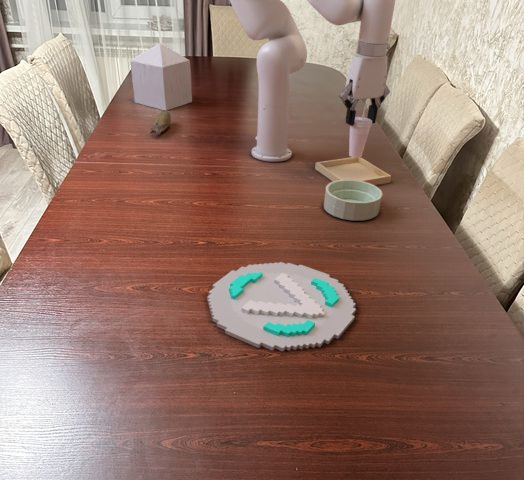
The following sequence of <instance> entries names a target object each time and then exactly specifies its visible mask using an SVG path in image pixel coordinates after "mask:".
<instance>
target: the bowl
mask: <svg viewBox="0 0 524 480" xmlns="http://www.w3.org/2000/svg"><path fill="white" fill-rule="evenodd" d="M383 195H384V194H383V191H382V189H380V188H379V187H378V185H373V184H370V183H367V182H363V181H358V180H338V181H331V182H329V183H327V184H326V186H325V190H324V196H323V209H324V210H325V211H326V213H328V214H329V215H331V216H332V217H335V218H338V219H342V220H347V221H367V220H371V219H373V218H376V217H377V216H378V215H379V213H380V210H381V204H382V200H383Z"/></svg>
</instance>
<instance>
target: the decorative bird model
mask: <svg viewBox="0 0 524 480" xmlns="http://www.w3.org/2000/svg"><path fill="white" fill-rule="evenodd" d="M171 118H172V114H171V112H169V110H162V111H160V112H159V113H157V114H156V116H155V117H154V119H153V120H152V124H151V127H150V131H148V134H153V133H155V134H156V135H157V136H159V135H161V133H163V132H164V131H165V130H166V129H167V128H169V127H170V125H171V122H172V119H171Z"/></svg>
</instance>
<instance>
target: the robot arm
mask: <svg viewBox="0 0 524 480" xmlns="http://www.w3.org/2000/svg"><path fill="white" fill-rule="evenodd" d="M307 2H308V3H309V4H310V5H311V7H312V8H313V9H315V11H316V12H317V13H318V14H319V15H320V16H321V17H322V18H324V19H325V21H327V22H328V23H330V24H332V25H333V26H344V25H347V24H351V23H356V22H360V24H359V25H360V26H359V32H358V38H357V45H356V46H357V47H356V54H353V56H352V58H351V61H350V64H349V68H348V72H347V77H346V80H345V81H346V82H345V87H344V88H343V89H342V90H341V92H339V94H338V97H339V98H340V100H341V102H342V103H343V104H344V106H345V108H346V114H345V124H347V125H348V126H349V127H350V126H353V125H354V122H355V117H356V115H357V110H356V107H357V105H358V103H359V101H360V100H367V99H370V104H369V106H368V110H367V116H366V118H368V119H371V120H372V124H376V121H377V116H378V110H379V108H381V105H382V103H384V101H385V100H386V98H387V97H388V96H389V94H390V93H391V90H390V88H389V87H388V85H387V84H386V82H387V76H388V55H387V51H388V50H390V49H391V44H390V43H389V40H390V34H391V27H392V24H393V23H392V22H393V16H394V11H395V5H396V0H307ZM229 3H230V5H231V6H232V7H231V8H232V9H233V11H234V13H235V15H236V17H237V19H238V21H239V23H240V25H241V27H242V29H243V30H244V32H245V34H246V36H247V37H248V38H249V39H251V40H253V41H262V40H263V41H264V40H268V41H267V42H265V43H264V44H263V45H261V47H260V48H259V50H258V52H257V55H256V72H257V73H256V74H257V81H258V96H257V97H258V98H257V103H258V104H257V125H256V126H257V127H256V136H255V140H256V146H254V147H252V149H251V155H252V157H253V158H255V159H257V160H259V161H263V162H269V163H279V162H285V161H287V160H290V158H292V155H293V151H292V150H291V149H290V148H289V147H288V140H289V128H290V115H291V98H292V87H291V82H290V75H292V74H293V73H296V72H299V71H300V70H301V69H302V68H303V67H304V66H305V64H306V62H307V58H308V52H307V51H308V49H307V46H306V43H305V40H304V38H303V36H302V34H301V32H300V29H299V28H298V25H297V23H296V22H295V19H294V17H293V15H292V13H291V11H290V9H289V8H288V6H287V5H286V4H285V3H284V2H283V1H282V0H229Z"/></svg>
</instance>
